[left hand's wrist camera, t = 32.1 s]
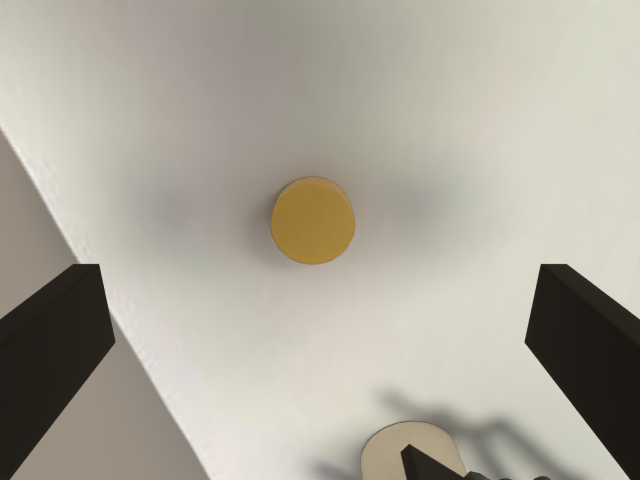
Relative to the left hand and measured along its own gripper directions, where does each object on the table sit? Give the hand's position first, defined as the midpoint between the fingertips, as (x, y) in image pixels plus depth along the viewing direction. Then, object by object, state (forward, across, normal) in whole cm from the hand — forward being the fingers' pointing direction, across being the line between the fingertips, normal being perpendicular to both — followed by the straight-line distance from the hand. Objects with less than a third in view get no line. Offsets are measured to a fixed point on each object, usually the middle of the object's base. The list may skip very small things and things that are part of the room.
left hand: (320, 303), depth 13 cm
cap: (+10, 0, -1) cm, 10 cm away
